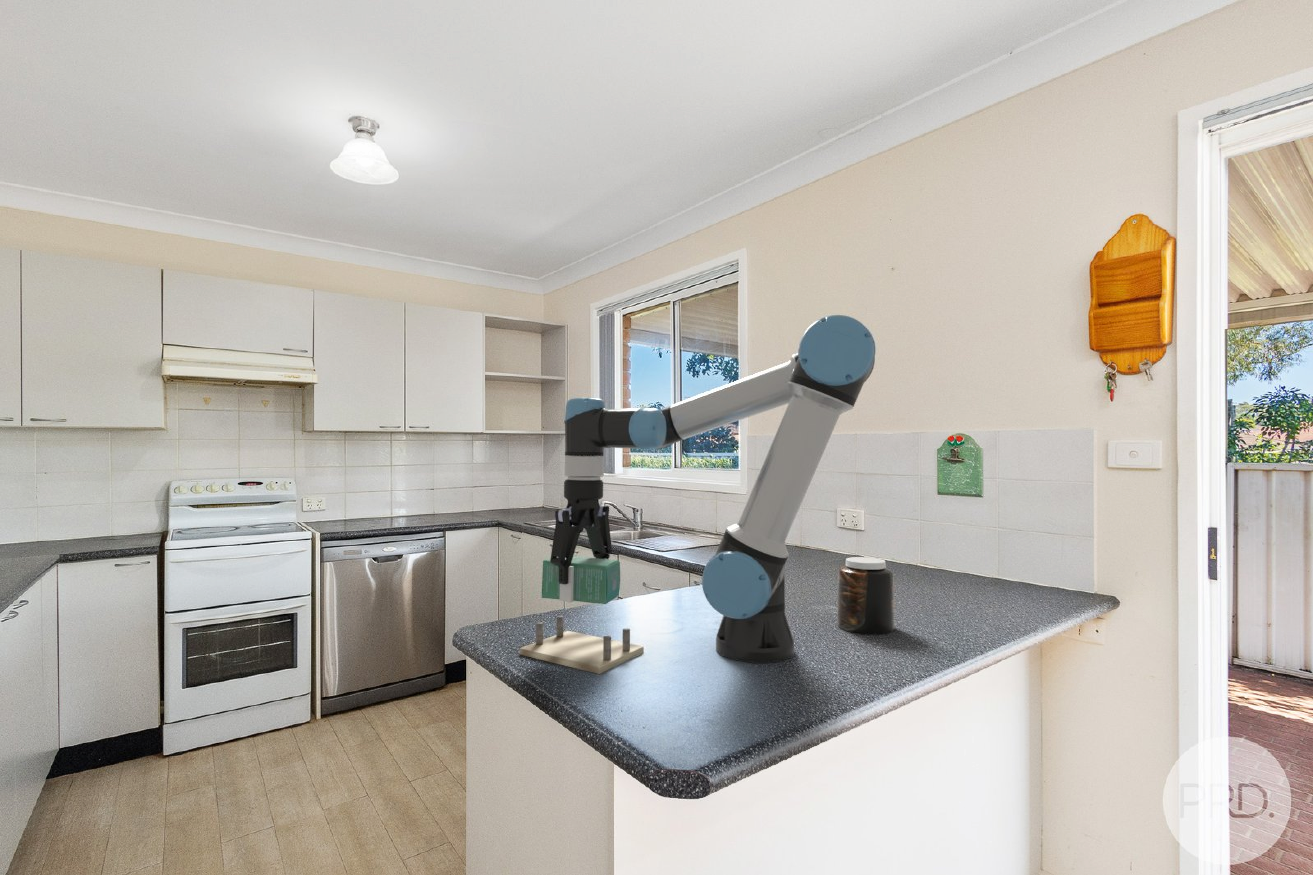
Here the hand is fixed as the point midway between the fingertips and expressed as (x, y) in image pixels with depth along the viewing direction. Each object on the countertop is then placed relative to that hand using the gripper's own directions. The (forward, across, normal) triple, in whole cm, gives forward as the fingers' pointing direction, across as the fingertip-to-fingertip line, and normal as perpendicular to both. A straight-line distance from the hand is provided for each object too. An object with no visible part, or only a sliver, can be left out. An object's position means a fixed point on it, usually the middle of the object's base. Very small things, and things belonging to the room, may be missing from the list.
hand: (582, 596), depth 122 cm
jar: (+11, -49, +41) cm, 65 cm away
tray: (+11, 0, 0) cm, 11 cm away
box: (+1, 0, 0) cm, 1 cm away
